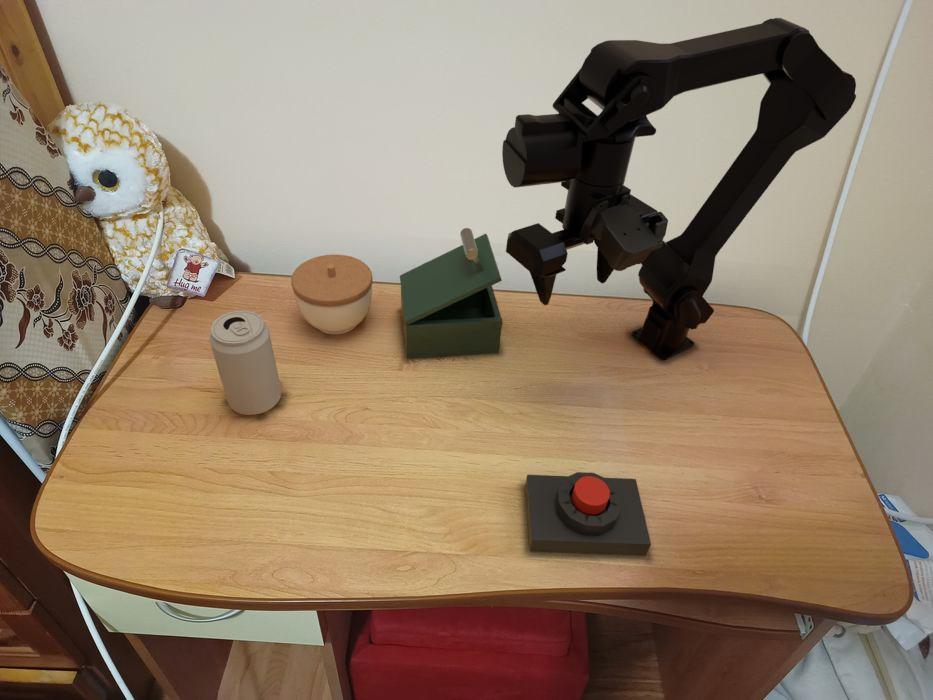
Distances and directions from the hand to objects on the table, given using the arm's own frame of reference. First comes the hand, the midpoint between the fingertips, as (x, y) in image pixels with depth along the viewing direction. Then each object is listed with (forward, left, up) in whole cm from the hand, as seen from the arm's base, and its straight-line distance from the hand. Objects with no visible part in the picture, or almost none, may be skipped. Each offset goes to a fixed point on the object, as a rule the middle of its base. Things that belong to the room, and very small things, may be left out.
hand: (573, 292), depth 77 cm
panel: (+13, +20, -12) cm, 27 cm away
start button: (+13, +20, -8) cm, 26 cm away
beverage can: (+37, -14, -12) cm, 41 cm away
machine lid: (+10, -13, -3) cm, 17 cm away
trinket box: (+22, -23, -12) cm, 34 cm away
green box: (+9, -13, -12) cm, 20 cm away
